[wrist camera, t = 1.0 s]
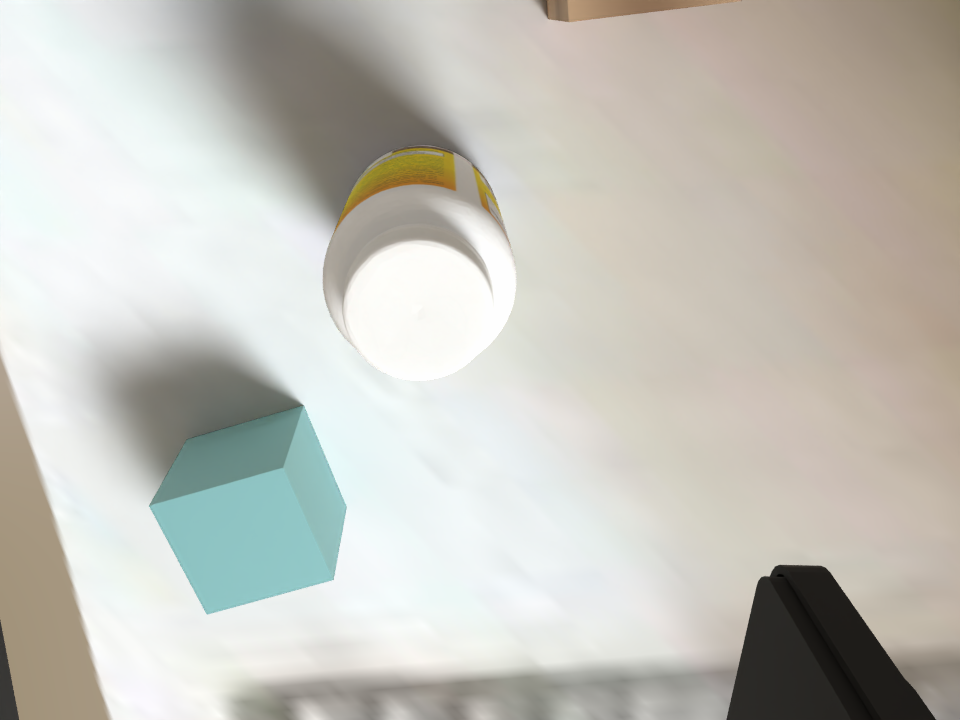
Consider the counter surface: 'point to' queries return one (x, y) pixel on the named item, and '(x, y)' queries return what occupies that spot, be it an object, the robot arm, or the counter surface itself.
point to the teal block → (252, 511)
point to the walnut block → (616, 7)
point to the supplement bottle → (420, 264)
